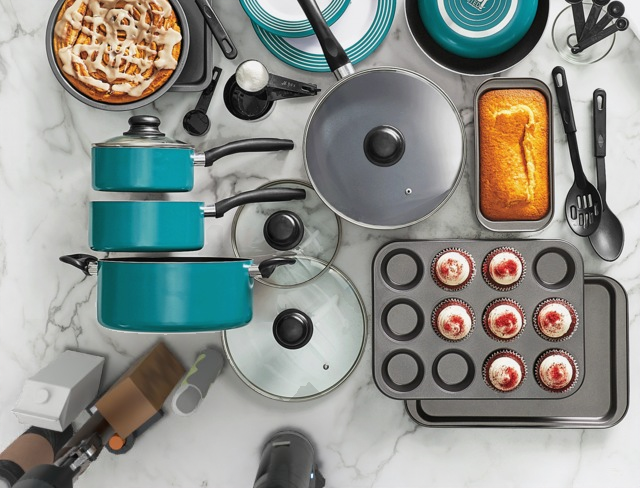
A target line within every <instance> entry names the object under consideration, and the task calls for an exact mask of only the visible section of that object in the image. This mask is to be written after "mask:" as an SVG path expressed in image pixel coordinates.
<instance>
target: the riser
mask: <svg viewBox="0 0 640 488" xmlns="http://www.w3.org/2000/svg"><path fill="white" fill-rule="evenodd" d="M186 372H187V370H186V368H184V366H183V364H182V363H180V361H179V360H178V359H177V357H175V355H174V354H173V352H171V350H170V349H169V348H168V346H167V345H166V344H165V343H164V342H163V341H160V342H158V343H157V344H156V345H155V346H154V347H152V348H151V349H150V350H149V351H147V352H146V353H145V354H144V355H143V356H141V357H140V358H138V360H137V361H135V362H134V363H133V364H132V365H131V366H130V367H128V369H127V370H126V371H125V372H124V373H123V374H122V375H121V376H120V378H118V379H117V380H116V381H117V382H116V381H115V382H116V383H115V382H114V383H115V384H114V383H113V384H114V385H113V384H112V385H113V386H112V385H111V386H112V387H111V388H110V389H109V390H108V391H107V392H106V393H105V394H104V395H103V396H102V397H101V398H100V399H99V400H98V401H97V403H96V404H95V405H94V406H95V407H96V408H97V409H98V410H99V412H100V413H101V414H102V415H103V417H104V418H105V419H106V420H107V421H108V423H109V424H110V425H111V426H112V427H113V429H114V430H115V431H116V432H117V434H118V435H119V436H120V437H121V438H122V440H124V439H125V438H126V437H127V436H129V435H130V434H131V433H132V432H133V431H135V430H136V429H137V428H138V427H140V426H141V425H142V424H143V423H144V422H146V421H147V420H148V419H149V418H151V417H152V416H153V415H154V414H156V413H157V412H158V410H159V409H160V408H161V407H162V406H163V405H164V403H165V402H166V401H167V399H168V398H169V396H170V395H171V393H172V392H173V390H174V389H175V388H176V386H177V385H178V384H179V383H180V381H181V379H182V378H183V377H184V375H185V374H186ZM161 409H162V408H161Z"/></svg>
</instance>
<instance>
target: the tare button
mask: <svg viewBox="0 0 640 488" xmlns="http://www.w3.org/2000/svg"><path fill="white" fill-rule="evenodd" d="M125 440H126V438H125V439H124V440H122V438H121V437H120V436H119V435H118V434H117V433H115V434H114V435H113V436H112V437H111V439H110V441H109V445H110V447H111V448H112V449H115V450H117V449H120V448H121V447H122V446H123V444H124V443H125Z"/></svg>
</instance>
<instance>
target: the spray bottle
mask: <svg viewBox="0 0 640 488" xmlns="http://www.w3.org/2000/svg"><path fill="white" fill-rule="evenodd" d="M224 364H225V361H224V358H223V355H222V354H221V353H220V352H219V351H218V350H216V349H212V348H208V349H204V350H203V351H202V352H200V353H199V354H198V356H197V357H196V358H195V361H194V363H193V365H192V367H191V368H190V369H189V370H188V372H187V373H186V376H185V377H184V379H183V381H182V382H181V383H180V384H179V386H178V387H177V390H176V392H175V393H174V394H173V397H172V399H171V408H172V411H173V413H174V414H175V415H176V416H178V417H181V418H189V417H191V416H193V415H194V414H195V413H196V412H197V410H198V409H199V407H200V406H201V403H202V402H203V400H204V399H205V398H206V396H207V394H208V393H209V390H210V389H211V387H212V386H213V384H215V382H216V380H217V378H218V376H219V375H220V374H221V372H222V371H223V368H224Z"/></svg>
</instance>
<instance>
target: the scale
mask: <svg viewBox="0 0 640 488" xmlns="http://www.w3.org/2000/svg"><path fill="white" fill-rule="evenodd" d="M117 381H118V380H116V381H115V382H114V383H113V384H111V385H110V386H109V387H108V388H106V389H105V390H104V391H103V392H102V393H100V394H99V395H97V397H96V398H95V399H94V400H93V401H92V402H91V403H90V404H89V405H88V406H87V407H86V408H85V409H84V410H85V411H86V412H87V413H88V414H89V416H90V417H91V416H92V415H93V413H92V412H91V411H90V408H91V407H93V406H94V405H95V404H96V403H97V401H98V400H99V399H100V398H101V397H102V396H103V395H104V394H105V393H106V392H107V391H108V390H109V389H110V388H111V387H112V386H113V385H114V384H115V383H116V382H117ZM164 415H165V412H164V411H163V409H162V408H160V409H159V410H158V412H157V413H156V414H154V415H153V416H152V417H151V418H149V419H148V420H147V421H146V422H144V423H143V424H142V425H141V426H140V427H138V428H137V429H136V430H135V431H133V432H132V433H131V434H130V435H129V436H127V437H126V440H125V443H124V444H123V446H122V447H121V448H120V449H117V450H115V449H112V448H111V447H110V445H109V441H110V440H109V441H108V442H107V443H106V445H105V446H104V448H105V449H106V450H107V451H108V452H109V453H110V454H113V455H115V456H118V455H125V454H127V453H128V452H129V451H130V450H131V449H132V448H133V447H134V445H135V443H136V440H137V438H139V437H140V436H141V435H142V434H143V433H145V432H146V431H147V430H148V429H149V428H151V427H152V426H153V425H154V424H156V423H157V422H158V421H160V420H161V418H163V417H164ZM116 433H117V432H116ZM110 439H111V438H110Z"/></svg>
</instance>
